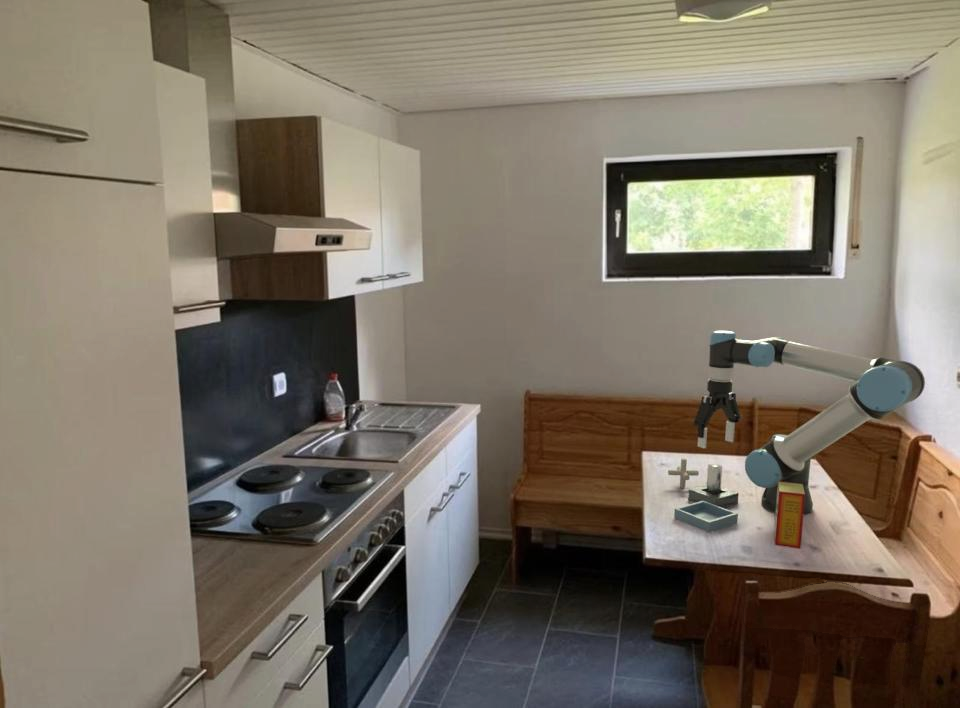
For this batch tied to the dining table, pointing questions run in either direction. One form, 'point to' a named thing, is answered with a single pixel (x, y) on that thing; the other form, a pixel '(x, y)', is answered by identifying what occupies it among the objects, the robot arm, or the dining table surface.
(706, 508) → the parts tray
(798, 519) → the baking soda box
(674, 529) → the dining table surface
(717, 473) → the shiny metal cylinder
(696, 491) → the block
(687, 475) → the pipe connector
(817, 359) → the robot arm
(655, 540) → the dining table surface
